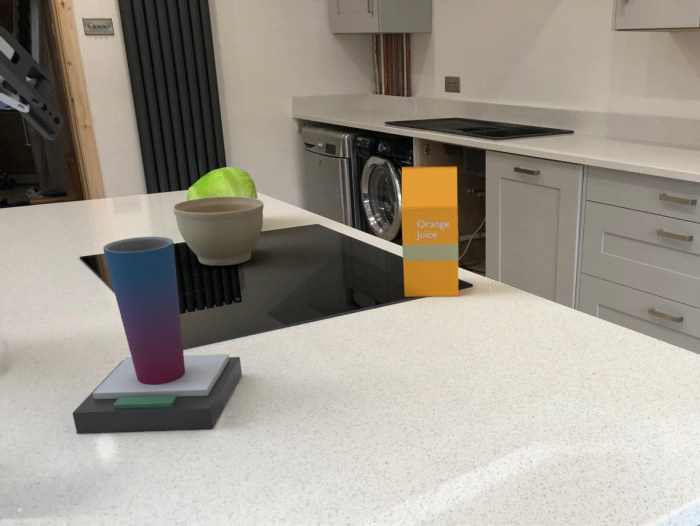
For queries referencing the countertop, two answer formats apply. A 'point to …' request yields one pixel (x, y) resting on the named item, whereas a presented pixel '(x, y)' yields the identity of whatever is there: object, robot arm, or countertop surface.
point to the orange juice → (430, 231)
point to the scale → (160, 398)
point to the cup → (148, 305)
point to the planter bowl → (220, 228)
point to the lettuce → (223, 184)
